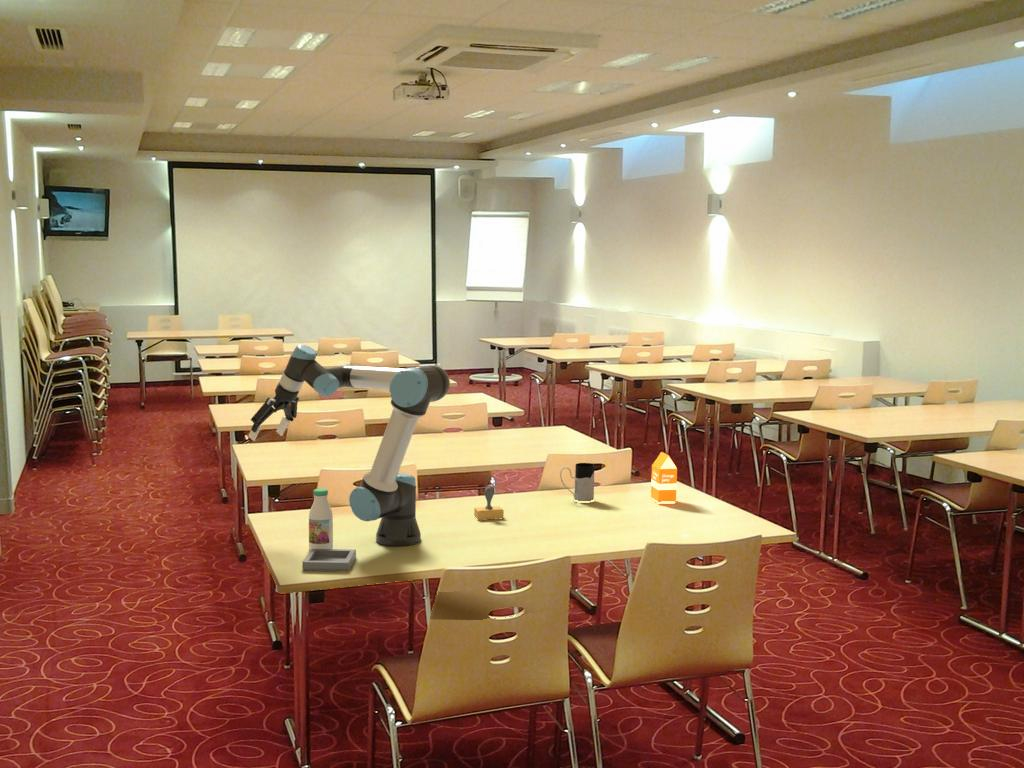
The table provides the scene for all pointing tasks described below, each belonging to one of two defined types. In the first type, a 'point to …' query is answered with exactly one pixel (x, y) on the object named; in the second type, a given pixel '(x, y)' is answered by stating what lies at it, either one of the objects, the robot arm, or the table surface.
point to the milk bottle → (320, 522)
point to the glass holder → (583, 482)
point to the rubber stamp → (488, 508)
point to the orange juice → (664, 479)
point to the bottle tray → (329, 560)
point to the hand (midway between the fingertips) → (265, 436)
